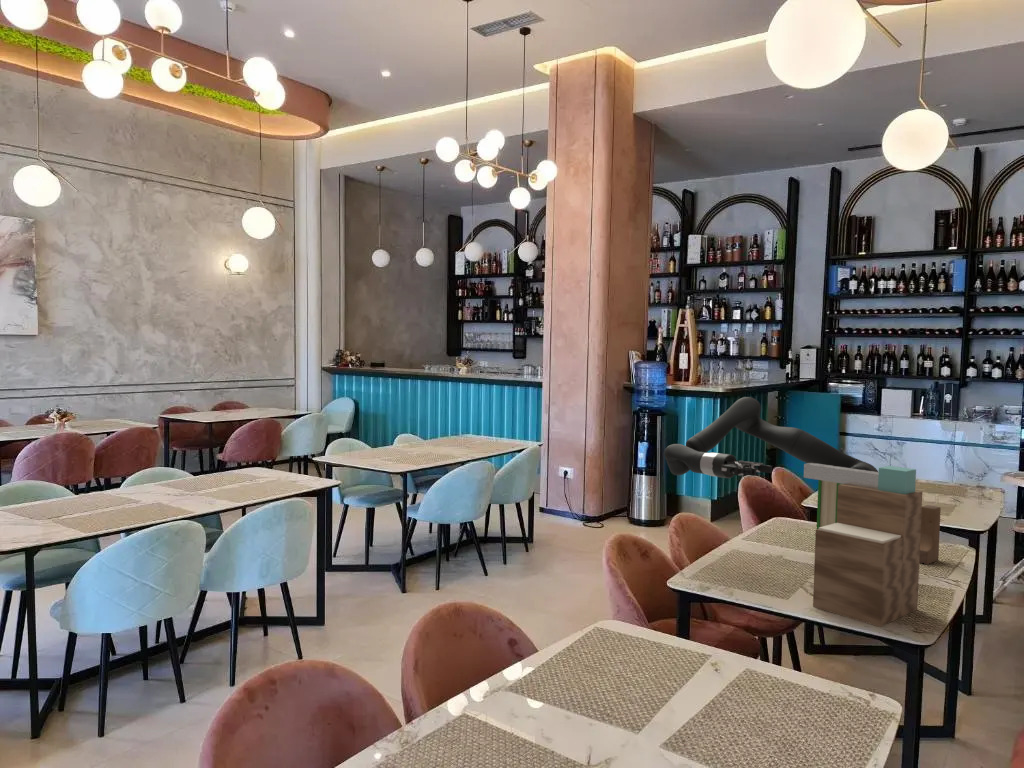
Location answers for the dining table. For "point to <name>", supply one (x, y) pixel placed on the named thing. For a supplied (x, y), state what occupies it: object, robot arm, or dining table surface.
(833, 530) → the stepped wooden riser
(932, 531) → the wooden block
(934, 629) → the dining table surface
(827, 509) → the hardback book
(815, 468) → the mallet
